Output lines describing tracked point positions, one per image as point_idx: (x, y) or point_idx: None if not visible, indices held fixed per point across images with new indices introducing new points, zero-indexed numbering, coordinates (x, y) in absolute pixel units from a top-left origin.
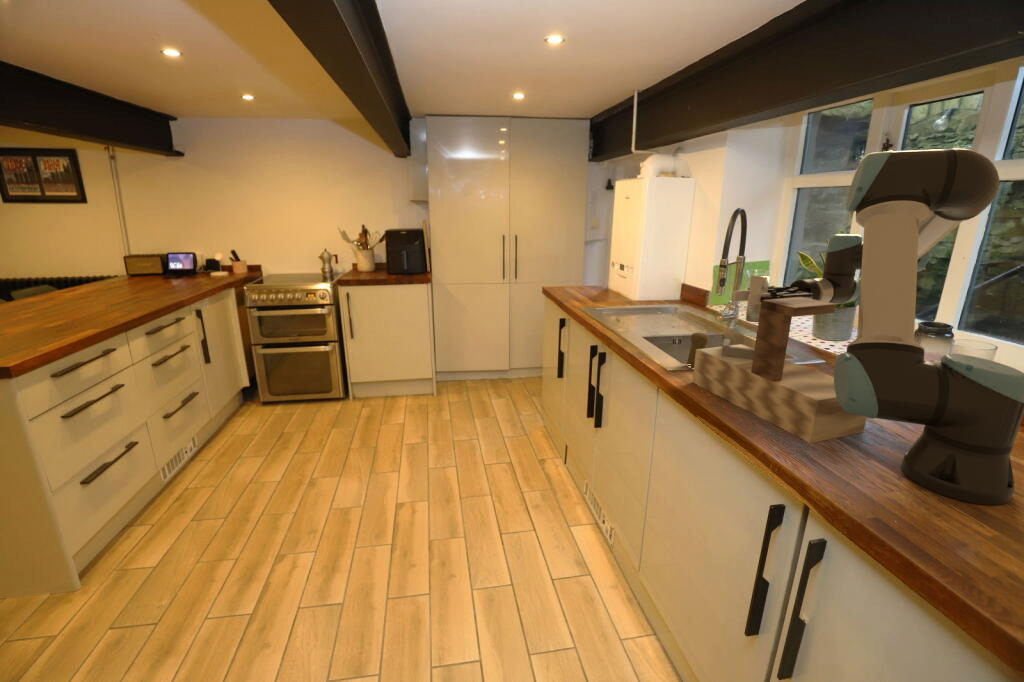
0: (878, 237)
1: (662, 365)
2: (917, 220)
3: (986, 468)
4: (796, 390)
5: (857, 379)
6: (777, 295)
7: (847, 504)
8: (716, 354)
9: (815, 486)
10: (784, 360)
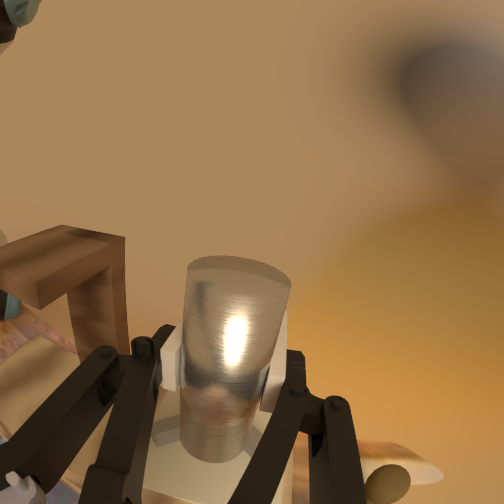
0: None
1: (375, 461)
2: None
3: None
4: (59, 349)
5: None
6: (130, 365)
7: (32, 318)
8: None
9: (49, 325)
10: (75, 342)
